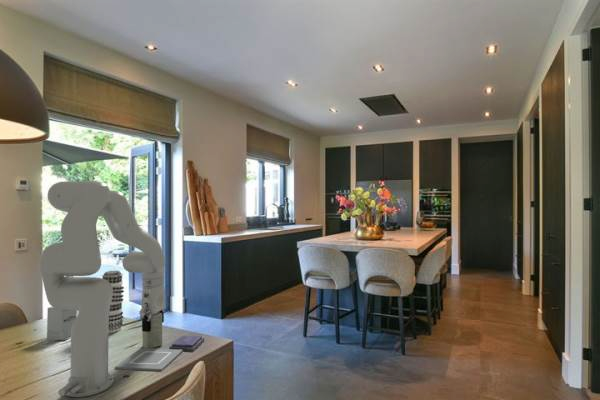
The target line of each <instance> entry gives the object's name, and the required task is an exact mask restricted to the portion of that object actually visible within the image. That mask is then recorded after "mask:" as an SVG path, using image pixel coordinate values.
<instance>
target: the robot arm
mask: <svg viewBox="0 0 600 400" xmlns="http://www.w3.org/2000/svg"><path fill="white" fill-rule="evenodd" d="M47 200H48V202H49V204H50V205H51V207H52V208H54V209H56V210H59V211H61V212H66V213H67V214H66V215H65V217H64V218H63V221H62V223H61V226H60V227H61V228H60V233H61V241H62V242H54V243H52V244H50V245H48V246H47V247H45V249H44V250H43V251H42V253H41V255H40V259H39V270H40V274H41V279H42V283H43V284H42V285H43V287H44V291H45V292H44V293H45V295H46V299H47V302H48V304H49V305H50V307H54V308H56V309H61V310H75V311H77V312H78V314H77V315H76V319H75V320H74V322H73V324H72V328H71V336H70V371H69V372H70V374H69V375H70V377H68V378H67V379H68V382H67V383H66V384H65V385H64V386H63V387H61V388H60V389H58V396H60V397H63V396H67V397H69V398H70V397H71V398H86V397H88V396H89V397H90V396H94V395H98V394H99V393H103V392H104V391H106V390H108V389H109V388H110V387H112V385H113V384H114V380H115V378H114V376H113V375H112V374H111V373H109V341H110V340H109V334H110V333H109V311H110V305H111V301H112V296H113V287H112V285H111V284H110V282H108V281H107V280H105V279H103V277H102V278H100V277H94V276H93V277H91V276H92V275H94V274H96V273H98V272H99V270H100V269H101V266H102V254H101V250H100V244H99V238H98V234H97V233H98V231H97V222H98V219H99V218H101V217H102V218H103V221H105V224H106V225H107V227H108V229H109V231H110V233H111V235H112V237H113V238H114V239H115V240H117V241H119V242H120V243H123V244H124V245H127V246H131V247H133V248H135V249H137V250H139V251H132V252H129V253H127V254H126V255H125V256H124V257H123V259H122V267H123V269H124V271H126V272H128V273H134V274H142V280H141V281H142V284H141V285H142V294H141V308H140V310H139V313H138V314H139V316H140V317H139V318H140V320H141V332H142V333H143V332H150V331H151V320H150V318H151V315H152V314H156V313H158V312H160V313H162V324H163V323H164V322H165V308H166V305H167V304H166V291H165V285H164V284H165V283H164V280H165V279H164V273H165V272H164V270H165V269H164V268H165V266H166V257H165V253H164V252H163V251H164V250H163V248H162V246H161V244H160V242H159V241H158V240H157V239H156V238H155V237H154V236H153V235H152V234H150V233H149V232H148V231H146V229H143V228H142V227H140V225H139V224H138V221H137V219H136V217H135V215H134V212H133V210H132V208H131V206H130V203H129V200H128V199H127V197H126V196H125V194H124V193H123V192H121V191H118V190H110V187H109V186H108V185H107V184H106V183H105V182H102V181H99V180H98V181H97V180H75V181H74V180H73V181H71V180H70V181H68V180H67V181H58V182H55V183H53V184H52V185H51V186H50V187H49V189H48V191H47ZM146 315H148V317H147V316H146Z"/></svg>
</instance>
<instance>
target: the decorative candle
mask: <svg viewBox="0 0 600 400" xmlns="http://www.w3.org/2000/svg"><path fill="white" fill-rule="evenodd" d="M123 275H124V273H121V271H120V270H109V271H105V272H104V274H103V275H101V277H102V279H105V280H107V281H108V282H110V284H111V285H112V287H113V296H112V301H111V305H110V311H109V334H112V333H117V332H119V331H121V330H123V325H124V323H123V322H124V316H123V315H124V311H123V307H122V305H123V304H122V303H123V302H124V294H123V293H124V292H125V290H123V289H125V287H124V286H123Z"/></svg>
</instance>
